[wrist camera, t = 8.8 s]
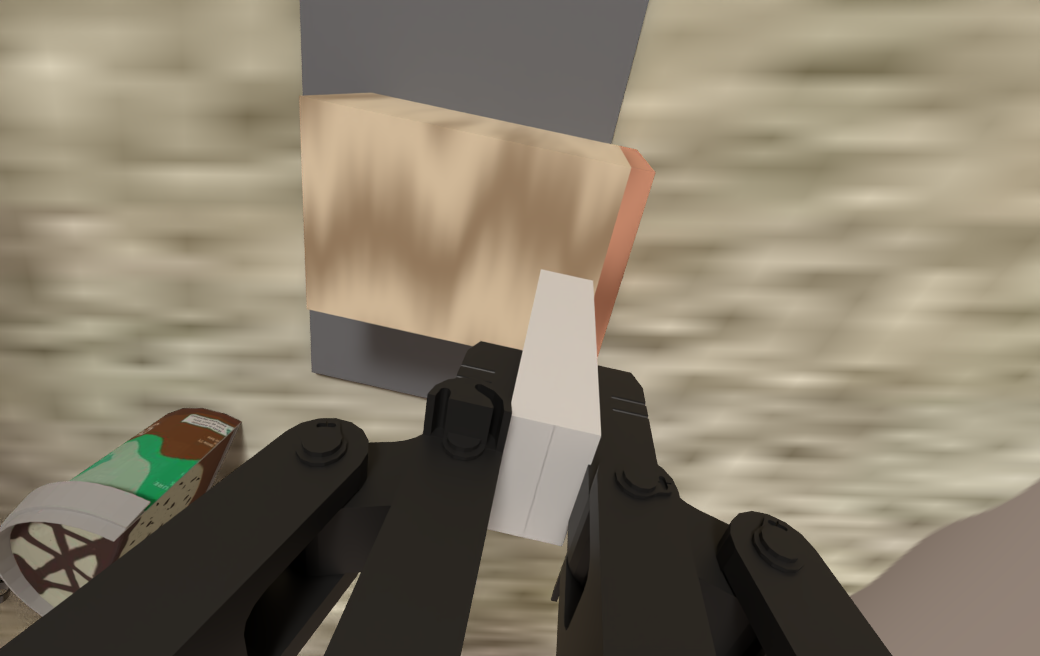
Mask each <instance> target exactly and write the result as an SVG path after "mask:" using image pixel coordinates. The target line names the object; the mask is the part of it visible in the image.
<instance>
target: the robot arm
mask: <svg viewBox="0 0 1040 656" xmlns="http://www.w3.org/2000/svg"><path fill="white" fill-rule="evenodd" d="M647 418H648V413H647V408H646V406H645V398H644V393H643V388H642V386H641V385H640V384H639V383H638V381H637V380H636V379H635V377H634V376H633V375H632V373H629V372H625V371H620V370H616V369H611V368H607V367H602V366H598V365H597V346H596V327H595V308H594V289H593V281H592V280H588V279H583V278H578V277H574V276H569V275H565V274H560V273H556V272H551V271H547V270H542V269H541V271H540V276H539V280H538V285H537V289H536V294H535V298H534V303H533V307H532V312H531V316H530V321H529V325H528V330H527V334H526V339H525V343H524V348H523V350H519V349H515V348H510V347H506V346H501V345H497V344H492V343H488V342H483V341H480V342H479V343H477V344H476V345H474V346H473V347H471V348H470V349H468V350H467V352H466V354H465V357H464V359H463V361H462V364H461V366H460V368H459V371H458V373H457V376H456V378H454V379H447V380H445V381H443V382H441V383H438V384H436V385H435V386H434V387H433V388H432V389H431V390H430V392H429V393H428V395H427V403H426V412H425V421H424V430H423V434H422V435H420V436H418V437H416V438H412V439H409V440H405V441H398V442H375V443H369V440H368V438H367V437H366V435H365V433H364V431H363V430H362V429H361V428H359V427H358V426H356V425H355V424H353V423H352V422H348V421H344V420H340V419H337V418H320V419H315V420H311V421H307V422H303V423H300V424H298V425H297V426H295V427H293V428H291V429H289V430H287V431H286V432H284V433H283V434H282V435H280V436H279V437H278V438H277V439H275V440H274V441H273V442H271V443H270V444H269V445H267V446H266V447H265V448H263V449H262V450H261V451H259V452H258V453H257V454H256V455H254V456H253V457H252V458H250V459H249V460H248V461H246V462H245V463H244V464H242V465H241V466H240V467H238V468H237V469H236V470H235V471H233V472H232V473H231V474H229V475H228V476H227V477H225V478H224V479H223V480H221V481H220V482H219V483H217V484H216V485H215V486H214V487H212V488H211V489H210V490H208V491H207V492H206V493H204V494H203V495H202V496H200V497H199V498H198V499H196V500H195V501H194V502H192V503H191V504H190V505H189V506H187V507H186V508H185V509H183V510H182V511H181V512H179V513H178V514H177V515H175V516H174V517H173V518H171V519H170V520H169V521H168V522H166V523H165V524H164V525H162V526H161V527H160V528H158V529H157V530H156V531H154V532H153V533H152V534H150V535H149V536H148V537H147V538H145V539H144V540H143V541H141V542H140V543H139V544H137V545H136V546H135V547H133V548H132V549H131V550H129V551H128V552H127V553H125V554H124V555H123V556H122V557H120V558H119V559H118V560H116V561H115V562H114V563H112V564H111V565H110V566H108V567H107V568H106V569H104V570H103V571H102V572H101V573H99V574H98V575H97V576H95V577H94V578H93V579H91V580H90V581H89V582H87V583H86V584H85V585H83V586H82V587H81V588H80V589H78V590H77V591H76V592H74V593H73V594H72V595H70V596H69V597H68V598H66V599H65V600H64V601H62V602H61V603H60V604H59V605H57V606H56V607H55V608H53V609H52V610H51V611H49V612H48V613H47V614H45V615H44V616H43V617H41V618H40V619H39V620H37V621H36V622H35V623H34V624H32V625H31V626H30V627H28V628H27V629H26V630H24V631H23V632H22V633H20V634H19V635H18V636H16V637H15V638H14V639H13V640H11V641H10V642H9V643H7V644H6V645H5V646H3V647H2V648H1V649H0V656H297V655H298V653H299V652H300V651H301V649H302V648H303V647H304V645H305V644H306V643H307V641H308V640H309V639H310V637H311V636H312V635H313V633H314V632H315V631H316V629H317V628H318V627H319V625H320V624H321V623H322V621H323V620H324V619H325V617H326V616H327V615H328V613H329V612H330V611H331V609H332V608H333V607H334V606H335V604H336V603H337V602H338V600H339V599H340V598H341V596H342V595H343V594H344V592H345V591H346V590H347V588H348V587H349V586H350V584H351V583H352V582H353V580H354V579H355V578H356V576H357V575H358V573H359V572H361V574H360V576H359V578H358V581H357V583H356V585H355V587H354V589H353V592H352V594H351V596H350V598H349V601H348V603H347V605H346V607H345V610H344V612H343V614H342V616H341V618H340V621H339V623H338V625H337V627H336V630H335V632H334V634H333V636H332V639H331V641H330V643H329V645H328V647H327V650H326V652H325V654H324V656H461V651H462V646H463V641H464V637H465V632H466V627H467V622H468V618H469V613H470V608H471V603H472V599H473V594H474V589H475V584H476V580H477V575H478V570H479V565H480V561H481V556H482V551H483V546H484V542H485V537H486V532H487V529H489V530H493V531H498V532H502V533H506V534H511V535H515V536H519V537H524V538H528V539H532V540H537V541H541V542H545V543H550V544H554V545H559V546H562V545H563V542H564V540H565V537H566V534H567V531H568V547H567V554H566V557H565V560H564V562H563V565H562V568H561V571H560V573H559V576H558V579H557V582H556V584H555V587H554V590H553V594H552V597H551V601H556V602H557V600H558V597H559V609H558V630H557V651H556V656H892V655H891V653H890V652H889V651H888V649H887V648H886V646H885V645H884V644H883V642H882V641H881V639H880V638H879V637H878V635H877V634H876V633H875V631H874V630H873V628H872V627H871V626H870V624H869V623H868V622H867V620H866V619H865V617H864V616H863V615H862V613H861V612H860V611H859V609H858V608H857V606H856V605H855V604H854V602H853V601H852V599H851V598H850V597H849V595H848V594H847V593H846V591H845V590H844V588H843V587H842V586H841V584H840V583H839V581H838V580H837V579H836V577H835V576H834V575H833V573H832V572H831V570H830V569H829V568H828V566H827V565H826V564H825V562H824V561H823V559H822V558H821V557H820V555H819V554H818V553H817V551H816V550H815V549H814V548H813V546H812V545H811V544H810V543H809V542H808V541H807V540H806V539H805V538H804V537H803V535H802V534H800V533H799V532H798V531H796V530H795V529H793V528H792V527H791V526H789V525H788V524H787V523H785V522H783V521H781V520H779V519H777V518H775V517H773V516H771V515H768V514H764V513H759V512H754V511H750V512H744V513H739V514H738V515H737V516H736V517H735V518H734V519H733V520H732V521H731V523H730V524H727V523H724V522H722V521H720V520H718V519H716V518H714V517H712V516H710V515H708V514H706V513H704V512H702V511H700V510H698V509H696V508H694V507H693V506H691V505H689V504H687V503H686V502H685V501H683V500H682V499H681V498H680V496H679V492H678V490H677V487H676V485H675V483H674V481H673V479H672V478H671V477H670V476H669V475H668V474H667V473H666V471H665V470H664V469H663V468H662V467H660V466H659V465H658V464H657V459H656V454H655V449H654V444H653V439H652V433H651V428H650V423H649V419H647Z"/></svg>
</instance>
